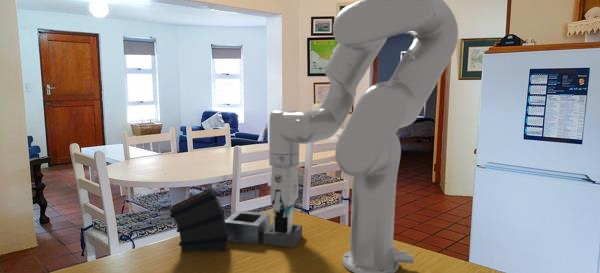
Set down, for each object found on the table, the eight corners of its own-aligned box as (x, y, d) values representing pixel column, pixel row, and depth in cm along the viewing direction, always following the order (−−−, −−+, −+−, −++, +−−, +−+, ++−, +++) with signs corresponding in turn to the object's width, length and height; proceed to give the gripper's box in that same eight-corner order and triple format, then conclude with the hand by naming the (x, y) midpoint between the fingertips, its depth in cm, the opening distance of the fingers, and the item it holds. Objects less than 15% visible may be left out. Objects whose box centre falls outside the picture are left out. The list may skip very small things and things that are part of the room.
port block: (269, 231, 113) (270, 213, 112) (257, 244, 104) (258, 225, 103) (237, 227, 115) (237, 210, 114) (223, 240, 106) (222, 222, 105)
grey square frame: (302, 236, 110) (302, 225, 109) (294, 247, 102) (294, 236, 102) (273, 232, 112) (273, 222, 111) (263, 244, 104) (263, 232, 104)
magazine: (239, 245, 99) (211, 190, 97) (189, 268, 99) (160, 214, 97) (240, 238, 103) (213, 186, 101) (192, 261, 103) (164, 209, 101)
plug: (291, 237, 108) (293, 204, 107) (287, 243, 104) (289, 209, 103) (276, 235, 109) (278, 202, 108) (272, 241, 105) (273, 207, 104)
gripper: (289, 166, 95) (288, 242, 98) (306, 154, 111) (305, 219, 114) (258, 164, 97) (258, 239, 99) (279, 152, 113) (279, 217, 115)
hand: (283, 228), depth 106 cm, fingers closed on plug, 3 cm apart
